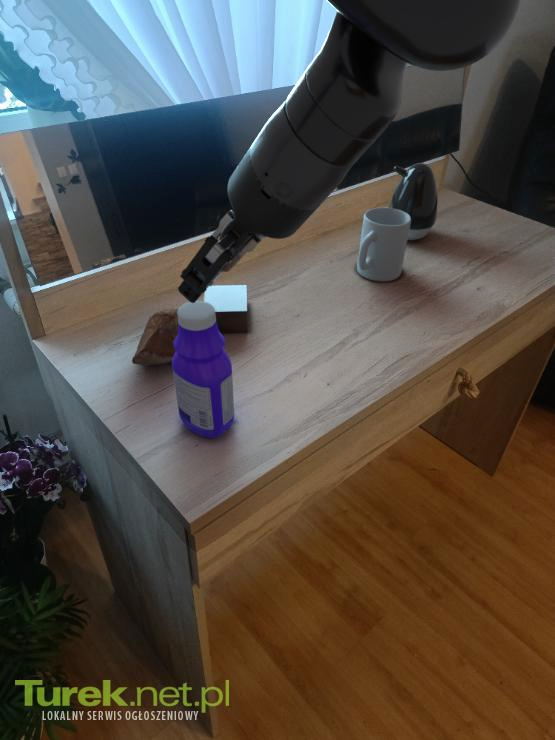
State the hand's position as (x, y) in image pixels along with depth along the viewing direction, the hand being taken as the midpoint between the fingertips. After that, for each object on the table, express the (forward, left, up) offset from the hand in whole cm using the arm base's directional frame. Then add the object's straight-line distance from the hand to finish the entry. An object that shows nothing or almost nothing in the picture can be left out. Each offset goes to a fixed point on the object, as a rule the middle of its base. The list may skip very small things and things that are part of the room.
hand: (208, 274), depth 54 cm
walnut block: (+1, +21, -20) cm, 29 cm away
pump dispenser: (+40, +52, -20) cm, 68 cm away
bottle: (-1, -3, -20) cm, 20 cm away
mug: (+29, +35, -20) cm, 50 cm away
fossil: (-8, +12, -20) cm, 25 cm away
